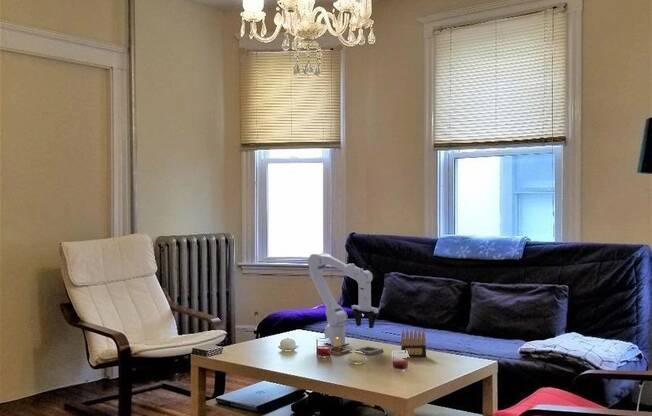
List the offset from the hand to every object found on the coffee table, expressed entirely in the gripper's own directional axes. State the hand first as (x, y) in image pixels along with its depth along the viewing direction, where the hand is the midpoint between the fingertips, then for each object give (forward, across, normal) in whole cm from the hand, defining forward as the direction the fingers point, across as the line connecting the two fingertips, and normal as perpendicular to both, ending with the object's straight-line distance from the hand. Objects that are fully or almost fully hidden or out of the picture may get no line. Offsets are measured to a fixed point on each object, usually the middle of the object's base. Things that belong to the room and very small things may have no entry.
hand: (364, 326), depth 300 cm
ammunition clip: (+10, +27, +1) cm, 29 cm away
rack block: (+9, -3, -16) cm, 18 cm away
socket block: (+9, +7, -6) cm, 13 cm away
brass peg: (+9, -3, -16) cm, 18 cm away
